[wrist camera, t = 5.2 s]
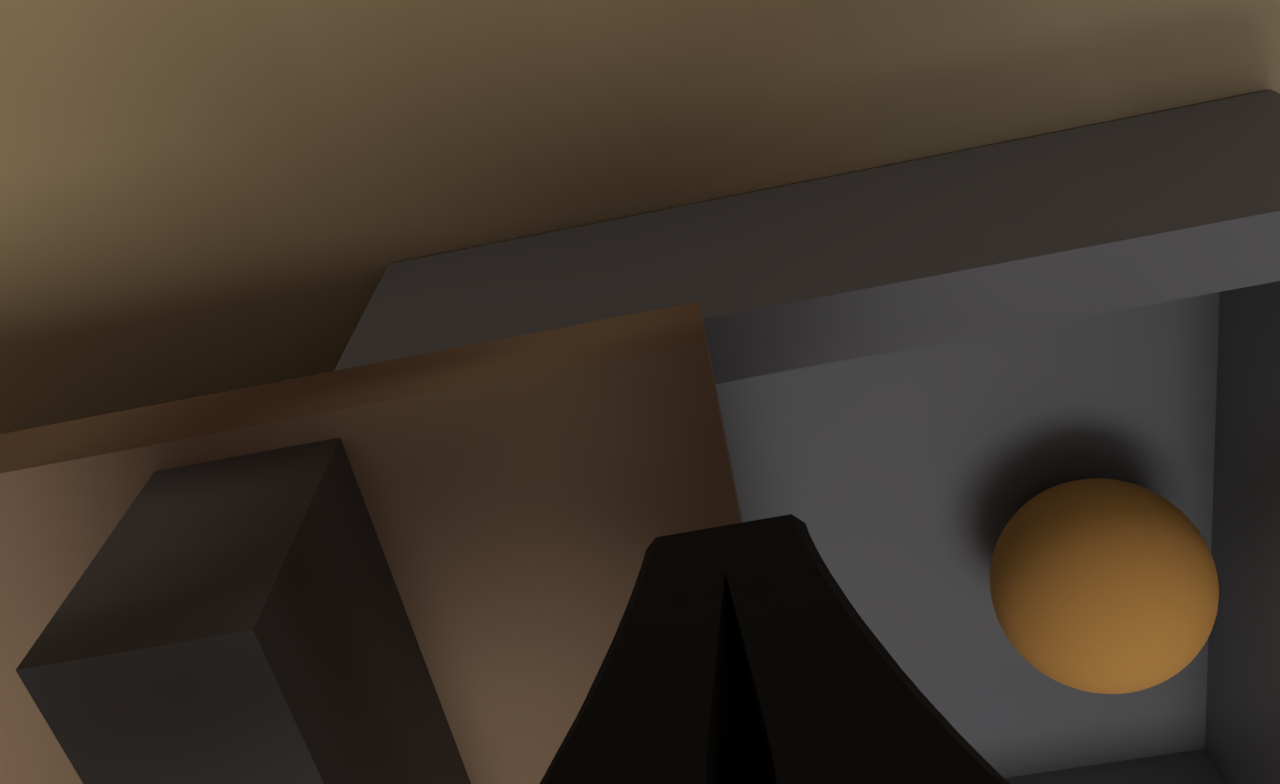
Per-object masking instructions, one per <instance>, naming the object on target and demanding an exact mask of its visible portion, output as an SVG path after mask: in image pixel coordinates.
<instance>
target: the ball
mask: <svg viewBox="0 0 1280 784" xmlns="http://www.w3.org/2000/svg"><path fill="white" fill-rule="evenodd" d="M990 591H991V598H992V604H993V607H994V610H995V613H996V616H997V619H998V622H999V624H1000V625H1001V627H1002V629H1003V631H1004V633H1005V635H1006V636H1007V638H1008V640H1009V641H1010V642H1011V644H1012V645H1013V646H1014V647H1015V649H1016V650H1017V651H1018V652H1019V654H1020V655H1021V656H1022V657H1023V658H1024V659H1025V660H1027V661H1028V662H1029V663H1030V664H1031V665H1032V666H1033V667H1035V668H1036V669H1037V670H1038V671H1040V672H1041V673H1043V674H1045V675H1046V676H1048V677H1050V678H1051V679H1053V680H1055V681H1057V682H1059V683H1061V684H1063V685H1066V686H1069V687H1072V688H1075V689H1079V690H1082V691H1087V692H1091V693H1101V694H1123V693H1131V692H1136V691H1141V690H1144V689H1147V688H1150V687H1153V686H1155V685H1158V684H1160V683H1162V682H1164V681H1166V680H1168V679H1170V678H1171V677H1173V676H1174V675H1176V674H1177V673H1179V672H1180V671H1181V670H1183V669H1184V668H1185V667H1186V666H1187V665H1188V664H1189V663H1190V662H1191V661H1192V660H1193V659H1194V658H1195V657H1196V655H1197V654H1198V653H1199V652H1200V650H1201V649H1202V647H1203V646H1204V644H1205V643H1206V641H1207V639H1208V637H1209V635H1210V633H1211V631H1212V628H1213V625H1214V622H1215V619H1216V615H1217V610H1218V601H1219V583H1218V576H1217V571H1216V566H1215V563H1214V560H1213V557H1212V554H1211V552H1210V550H1209V547H1208V545H1207V543H1206V541H1205V540H1204V538H1203V537H1202V535H1201V533H1200V532H1199V530H1198V529H1197V527H1196V526H1195V525H1194V524H1193V523H1192V522H1191V520H1190V519H1189V518H1188V517H1187V516H1186V515H1185V514H1184V513H1183V512H1182V511H1181V510H1180V509H1179V508H1177V507H1176V506H1175V505H1173V504H1172V503H1171V502H1169V501H1168V500H1167V499H1165V498H1164V497H1162V496H1160V495H1158V494H1157V493H1155V492H1153V491H1151V490H1149V489H1146V488H1144V487H1141V486H1139V485H1136V484H1133V483H1128V482H1124V481H1120V480H1115V479H1105V478H1091V479H1081V480H1074V481H1070V482H1066V483H1062V484H1059V485H1057V486H1054V487H1052V488H1049V489H1047V490H1045V491H1043V492H1041V493H1040V494H1038V495H1036V496H1035V497H1033V498H1032V499H1031V500H1029V501H1028V502H1027V503H1025V504H1024V505H1023V506H1022V507H1021V508H1020V509H1019V510H1018V511H1017V512H1016V513H1015V514H1014V516H1013V517H1012V518H1011V519H1010V520H1009V522H1008V523H1007V525H1006V526H1005V528H1004V529H1003V531H1002V533H1001V535H1000V537H999V539H998V541H997V544H996V546H995V550H994V553H993V556H992V561H991V568H990Z"/></svg>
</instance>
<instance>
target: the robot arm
mask: <svg viewBox="0 0 1280 784" xmlns="http://www.w3.org/2000/svg"><path fill="white" fill-rule="evenodd" d="M540 784H1010V783H1009V782H1008V781H1007V780H1005V779H1004V778H1003V777H1002V776H1001V775H1000V774H999V773H998V772H997V771H996V770H995V769H994V768H993V767H992V766H991V765H990V764H989V763H988V762H987V761H986V760H985V759H984V758H983V757H982V756H981V755H980V754H979V753H978V752H977V751H976V750H975V749H974V748H973V747H972V746H971V745H970V744H969V743H968V742H967V741H966V740H965V739H964V738H963V737H962V736H961V735H960V734H959V733H958V732H957V730H956V729H955V728H954V727H953V726H952V725H951V724H950V723H949V722H948V721H947V720H946V718H945V717H944V716H943V715H942V714H941V713H940V712H939V711H938V710H937V709H936V708H935V706H934V705H933V704H932V703H931V702H930V701H929V700H928V699H927V698H926V697H925V696H924V694H923V693H922V692H921V691H920V690H919V689H918V687H917V686H916V685H915V684H914V683H913V682H912V680H911V679H910V678H909V677H908V676H907V675H906V673H905V672H904V671H903V670H902V669H901V668H900V666H899V665H898V664H897V663H896V661H895V660H894V659H893V657H892V656H891V655H890V654H889V652H888V651H887V650H886V649H885V647H884V646H883V645H882V644H881V642H880V641H879V640H878V638H877V637H876V636H875V635H874V633H873V632H872V631H871V630H870V628H869V627H868V626H867V625H866V623H865V622H864V621H863V619H862V618H861V617H860V615H859V614H858V612H857V611H856V610H855V608H854V607H853V606H852V604H851V603H850V601H849V600H848V598H847V597H846V595H845V594H844V592H843V591H842V589H841V588H840V586H839V585H838V583H837V582H836V580H835V579H834V577H833V576H832V574H831V573H830V571H829V569H828V568H827V566H826V564H825V563H824V561H823V559H822V557H821V556H820V554H819V552H818V550H817V548H816V546H815V544H814V542H813V540H812V538H811V536H810V534H809V531H808V529H807V526H806V523H804V522H803V521H801V520H800V519H798V518H797V517H795V516H794V515H792V514H789V515H783V516H777V517H771V518H766V519H760V520H754V521H748V522H742V523H736V524H730V525H724V526H719V527H713V528H707V529H701V530H695V531H689V532H683V533H677V534H672V535H666V536H660V537H656V538H655V539H654V540H653V542H652V543H651V544H650V545H649V547H648V548H647V549H646V552H645V555H644V559H643V562H642V565H641V568H640V571H639V574H638V577H637V580H636V583H635V586H634V588H633V591H632V594H631V596H630V599H629V602H628V604H627V607H626V609H625V612H624V614H623V617H622V619H621V621H620V624H619V626H618V629H617V631H616V633H615V636H614V638H613V641H612V643H611V645H610V647H609V649H608V651H607V654H606V656H605V658H604V660H603V662H602V664H601V666H600V669H599V671H598V673H597V675H596V677H595V679H594V681H593V684H592V686H591V688H590V690H589V692H588V694H587V696H586V699H585V701H584V703H583V705H582V707H581V709H580V711H579V712H578V714H577V716H576V718H575V720H574V722H573V724H572V726H571V727H570V729H569V731H568V733H567V735H566V736H565V738H564V740H563V742H562V744H561V746H560V747H559V749H558V751H557V753H556V755H555V756H554V758H553V760H552V762H551V764H550V766H549V767H548V769H547V771H546V773H545V775H544V776H543V778H542V780H541V782H540Z"/></svg>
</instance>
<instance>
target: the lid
mask: <svg viewBox="0 0 1280 784" xmlns="http://www.w3.org/2000/svg"><path fill="white" fill-rule="evenodd" d="M742 522H743V520H742V515H741V510H740V505H739V500H738V495H737V490H736V485H735V480H734V475H733V469H732V464H731V459H730V454H729V449H728V444H727V439H726V434H725V429H724V424H723V419H722V414H721V409H720V403H719V398H718V393H717V388H716V383H715V378H714V373H713V368H712V363H711V358H710V353H709V348H708V343H707V337H706V332H705V327H704V322H703V317H702V312H701V307H700V302H694V303H688V304H683V305H678V306H673V307H667V308H662V309H657V310H652V311H646V312H641V313H636V314H630V315H625V316H620V317H615V318H609V319H604V320H599V321H593V322H588V323H583V324H578V325H572V326H567V327H562V328H557V329H551V330H546V331H541V332H535V333H530V334H525V335H520V336H514V337H509V338H504V339H499V340H493V341H488V342H483V343H477V344H472V345H467V346H462V347H456V348H451V349H446V350H440V351H435V352H430V353H425V354H419V355H414V356H409V357H404V358H398V359H393V360H388V361H382V362H377V363H372V364H367V365H361V366H356V367H351V368H346V369H340V370H335V371H330V372H324V373H319V374H314V375H309V376H303V377H298V378H293V379H287V380H282V381H277V382H272V383H266V384H261V385H256V386H251V387H245V388H240V389H235V390H229V391H224V392H219V393H214V394H208V395H203V396H198V397H192V398H187V399H182V400H177V401H171V402H166V403H161V404H156V405H150V406H145V407H140V408H134V409H129V410H124V411H119V412H113V413H108V414H103V415H98V416H92V417H87V418H82V419H76V420H71V421H66V422H61V423H55V424H50V425H45V426H39V427H34V428H29V429H24V430H18V431H13V432H8V433H3V434H0V784H540V782H541V780H542V778H543V776H544V775H545V773H546V771H547V769H548V767H549V766H550V764H551V762H552V760H553V758H554V756H555V755H556V753H557V751H558V749H559V747H560V746H561V744H562V742H563V740H564V738H565V736H566V735H567V733H568V731H569V729H570V727H571V726H572V724H573V722H574V720H575V718H576V716H577V714H578V712H579V711H580V709H581V707H582V705H583V703H584V701H585V699H586V696H587V694H588V692H589V690H590V688H591V686H592V684H593V681H594V679H595V677H596V675H597V673H598V671H599V669H600V666H601V664H602V662H603V660H604V658H605V656H606V654H607V651H608V649H609V647H610V645H611V643H612V641H613V638H614V636H615V633H616V631H617V629H618V626H619V624H620V621H621V619H622V617H623V614H624V612H625V609H626V607H627V604H628V602H629V599H630V596H631V594H632V591H633V588H634V586H635V583H636V580H637V577H638V574H639V571H640V568H641V565H642V562H643V559H644V555H645V552H646V549H647V548H648V547H649V545H650V544H651V543H652V542H653V540H654V539H655V538H656V537H660V536H666V535H672V534H677V533H683V532H689V531H695V530H701V529H707V528H713V527H719V526H724V525H730V524H736V523H742Z"/></svg>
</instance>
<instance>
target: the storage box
mask: <svg viewBox="0 0 1280 784" xmlns="http://www.w3.org/2000/svg"><path fill="white" fill-rule="evenodd" d="M694 302H700V307H701V312H702V317H703V322H704V327H705V332H706V337H707V343H708V348H709V353H710V358H711V363H712V368H713V373H714V378H715V383H716V388H717V393H718V398H719V403H720V409H721V414H722V419H723V424H724V429H725V434H726V439H727V444H728V449H729V454H730V459H731V464H732V469H733V475H734V480H735V485H736V490H737V495H738V500H739V505H740V510H741V515H742V520H743V522H748V521H754V520H760V519H766V518H771V517H777V516H783V515H789V514H792V515H794V516H795V517H797V518H798V519H800V520H801V521H803V522H804V523H806V526H807V529H808V531H809V534H810V536H811V538H812V540H813V542H814V544H815V546H816V548H817V550H818V552H819V554H820V556H821V557H822V559H823V561H824V563H825V564H826V566H827V568H828V569H829V571H830V573H831V574H832V576H833V577H834V579H835V580H836V582H837V583H838V585H839V586H840V588H841V589H842V591H843V592H844V594H845V595H846V597H847V598H848V600H849V601H850V603H851V604H852V606H853V607H854V608H855V610H856V611H857V612H858V614H859V615H860V617H861V618H862V619H863V621H864V622H865V623H866V625H867V626H868V627H869V628H870V630H871V631H872V632H873V633H874V635H875V636H876V637H877V638H878V640H879V641H880V642H881V644H882V645H883V646H884V647H885V649H886V650H887V651H888V652H889V654H890V655H891V656H892V657H893V659H894V660H895V661H896V663H897V664H898V665H899V666H900V668H901V669H902V670H903V671H904V672H905V673H906V675H907V676H908V677H909V678H910V679H911V680H912V682H913V683H914V684H915V685H916V686H917V687H918V689H919V690H920V691H921V692H922V693H923V694H924V696H925V697H926V698H927V699H928V700H929V701H930V702H931V703H932V704H933V705H934V706H935V708H936V709H937V710H938V711H939V712H940V713H941V714H942V715H943V716H944V717H945V718H946V720H947V721H948V722H949V723H950V724H951V725H952V726H953V727H954V728H955V729H956V730H957V732H958V733H959V734H960V735H961V736H962V737H963V738H964V739H965V740H966V741H967V742H968V743H969V744H970V745H971V746H972V747H973V748H974V749H975V750H976V751H977V752H978V753H979V754H980V755H981V756H982V757H983V758H984V759H985V760H986V761H987V762H988V763H989V764H990V765H991V766H992V767H993V768H994V769H995V770H996V771H997V772H998V773H999V774H1000V775H1001V776H1002V777H1003V778H1004V779H1005V780H1007V781H1008V782H1009V783H1010V784H1280V94H1279V93H1277V92H1275V91H1273V90H1268V91H1262V92H1257V93H1252V94H1247V95H1242V96H1237V97H1232V98H1227V99H1222V100H1217V101H1212V102H1207V103H1202V104H1197V105H1192V106H1186V107H1181V108H1176V109H1171V110H1166V111H1161V112H1156V113H1151V114H1146V115H1141V116H1136V117H1131V118H1126V119H1121V120H1116V121H1111V122H1105V123H1100V124H1095V125H1090V126H1085V127H1080V128H1075V129H1070V130H1065V131H1060V132H1055V133H1050V134H1045V135H1040V136H1035V137H1030V138H1024V139H1019V140H1014V141H1009V142H1004V143H999V144H994V145H989V146H984V147H979V148H974V149H969V150H964V151H959V152H954V153H948V154H943V155H938V156H933V157H928V158H923V159H918V160H913V161H908V162H903V163H898V164H893V165H888V166H883V167H878V168H873V169H867V170H862V171H857V172H852V173H847V174H842V175H837V176H832V177H827V178H822V179H817V180H812V181H807V182H802V183H797V184H792V185H786V186H781V187H776V188H771V189H766V190H761V191H756V192H751V193H746V194H741V195H736V196H731V197H726V198H721V199H716V200H710V201H705V202H700V203H695V204H690V205H685V206H680V207H675V208H670V209H665V210H660V211H655V212H650V213H645V214H640V215H635V216H629V217H624V218H619V219H614V220H609V221H604V222H599V223H594V224H589V225H584V226H579V227H574V228H569V229H564V230H559V231H554V232H548V233H543V234H538V235H533V236H528V237H523V238H518V239H513V240H508V241H503V242H498V243H493V244H488V245H483V246H478V247H472V248H467V249H462V250H457V251H452V252H447V253H442V254H437V255H432V256H427V257H422V258H417V259H412V260H407V261H402V262H397V263H391V264H388V266H387V268H386V270H385V272H384V274H383V276H382V278H381V280H380V282H379V284H378V286H377V288H376V290H375V292H374V294H373V296H372V298H371V299H370V301H369V303H368V305H367V307H366V309H365V311H364V313H363V315H362V317H361V319H360V321H359V323H358V325H357V327H356V329H355V331H354V333H353V334H352V336H351V338H350V340H349V342H348V344H347V346H346V348H345V350H344V352H343V354H342V356H341V358H340V360H339V362H338V364H337V366H336V368H335V370H340V369H346V368H351V367H356V366H361V365H367V364H372V363H377V362H382V361H388V360H393V359H398V358H404V357H409V356H414V355H419V354H425V353H430V352H435V351H440V350H446V349H451V348H456V347H462V346H467V345H472V344H477V343H483V342H488V341H493V340H499V339H504V338H509V337H514V336H520V335H525V334H530V333H535V332H541V331H546V330H551V329H557V328H562V327H567V326H572V325H578V324H583V323H588V322H593V321H599V320H604V319H609V318H615V317H620V316H625V315H630V314H636V313H641V312H646V311H652V310H657V309H662V308H667V307H673V306H678V305H683V304H688V303H694ZM335 370H334V371H335ZM1091 478H1105V479H1115V480H1120V481H1124V482H1128V483H1133V484H1136V485H1139V486H1141V487H1144V488H1146V489H1149V490H1151V491H1153V492H1155V493H1157V494H1158V495H1160V496H1162V497H1164V498H1165V499H1167V500H1168V501H1169V502H1171V503H1172V504H1173V505H1175V506H1176V507H1177V508H1179V509H1180V510H1181V511H1182V512H1183V513H1184V514H1185V515H1186V516H1187V517H1188V518H1189V519H1190V520H1191V522H1192V523H1193V524H1194V525H1195V526H1196V527H1197V529H1198V530H1199V532H1200V533H1201V535H1202V537H1203V538H1204V540H1205V541H1206V543H1207V545H1208V547H1209V550H1210V552H1211V554H1212V557H1213V560H1214V563H1215V566H1216V571H1217V576H1218V583H1219V601H1218V610H1217V615H1216V619H1215V622H1214V625H1213V628H1212V631H1211V633H1210V635H1209V637H1208V639H1207V641H1206V643H1205V644H1204V646H1203V647H1202V649H1201V650H1200V652H1199V653H1198V654H1197V655H1196V657H1195V658H1194V659H1193V660H1192V661H1191V662H1190V663H1189V664H1188V665H1187V666H1186V667H1185V668H1184V669H1183V670H1181V671H1180V672H1179V673H1177V674H1176V675H1174V676H1173V677H1171V678H1170V679H1168V680H1166V681H1164V682H1162V683H1160V684H1158V685H1155V686H1153V687H1150V688H1147V689H1144V690H1141V691H1136V692H1131V693H1123V694H1101V693H1091V692H1087V691H1082V690H1079V689H1075V688H1072V687H1069V686H1066V685H1063V684H1061V683H1059V682H1057V681H1055V680H1053V679H1051V678H1050V677H1048V676H1046V675H1045V674H1043V673H1041V672H1040V671H1038V670H1037V669H1036V668H1035V667H1033V666H1032V665H1031V664H1030V663H1029V662H1028V661H1027V660H1025V659H1024V658H1023V657H1022V656H1021V655H1020V654H1019V652H1018V651H1017V650H1016V649H1015V647H1014V646H1013V645H1012V644H1011V642H1010V641H1009V640H1008V638H1007V636H1006V635H1005V633H1004V631H1003V629H1002V627H1001V625H1000V624H999V622H998V619H997V616H996V613H995V610H994V607H993V604H992V598H991V591H990V568H991V561H992V556H993V553H994V550H995V546H996V544H997V541H998V539H999V537H1000V535H1001V533H1002V531H1003V529H1004V528H1005V526H1006V525H1007V523H1008V522H1009V520H1010V519H1011V518H1012V517H1013V516H1014V514H1015V513H1016V512H1017V511H1018V510H1019V509H1020V508H1021V507H1022V506H1023V505H1024V504H1025V503H1027V502H1028V501H1029V500H1031V499H1032V498H1033V497H1035V496H1036V495H1038V494H1040V493H1041V492H1043V491H1045V490H1047V489H1049V488H1052V487H1054V486H1057V485H1059V484H1062V483H1066V482H1070V481H1074V480H1081V479H1091Z"/></svg>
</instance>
